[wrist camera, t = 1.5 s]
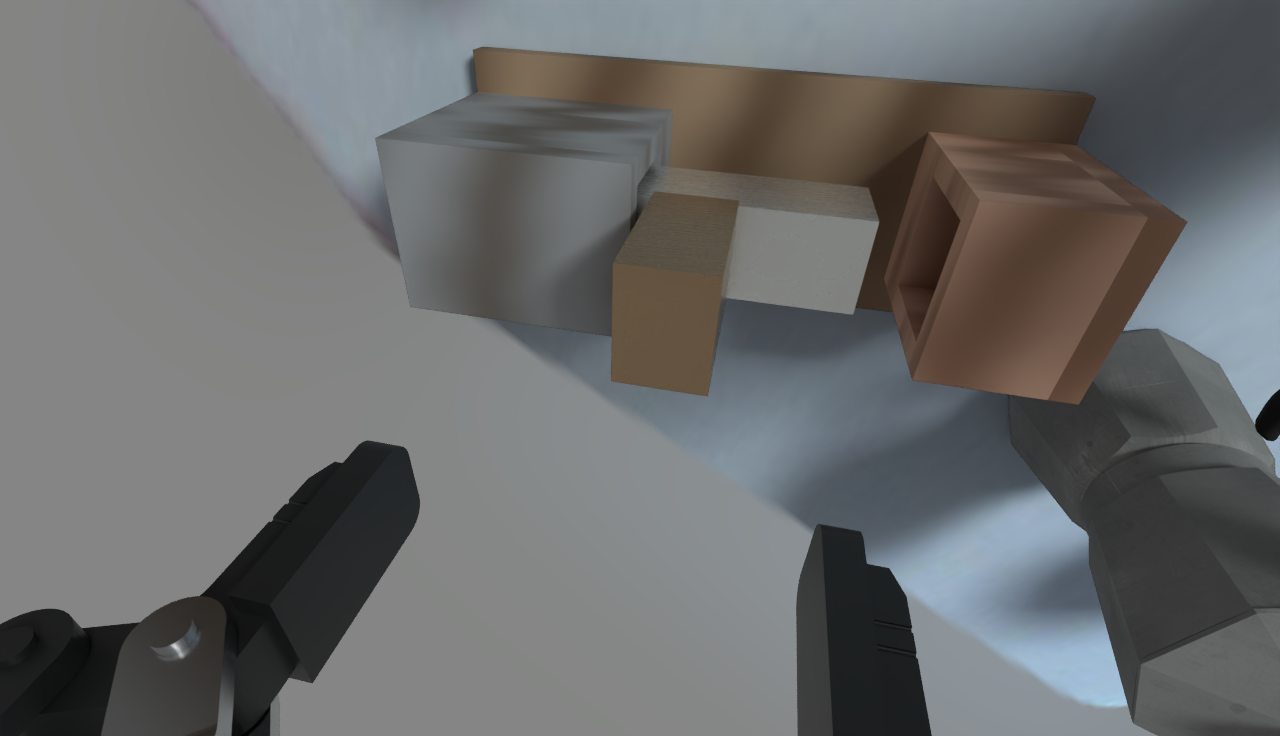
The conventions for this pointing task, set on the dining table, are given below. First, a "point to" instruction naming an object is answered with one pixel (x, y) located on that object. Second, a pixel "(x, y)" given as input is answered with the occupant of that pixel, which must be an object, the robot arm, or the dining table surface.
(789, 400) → the dining table surface
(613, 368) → the two-tone wooden block
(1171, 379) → the coffeepot
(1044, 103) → the block assembly on base
